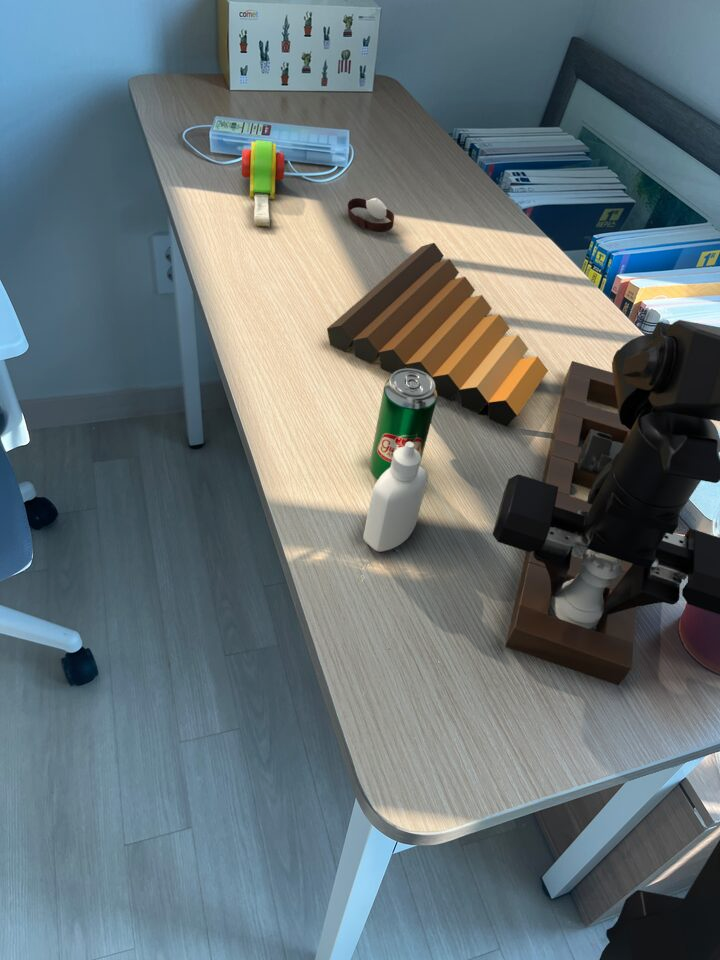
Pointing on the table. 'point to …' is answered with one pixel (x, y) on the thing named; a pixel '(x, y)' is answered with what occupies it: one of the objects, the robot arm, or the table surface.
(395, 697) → the table surface
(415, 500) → the eye dropper bottle
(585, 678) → the table surface
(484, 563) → the table surface
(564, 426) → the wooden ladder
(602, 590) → the rook chess piece
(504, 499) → the robot arm
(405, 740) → the table surface
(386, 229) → the watch
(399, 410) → the soda can
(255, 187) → the toy measuring tape
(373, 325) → the pan flute
